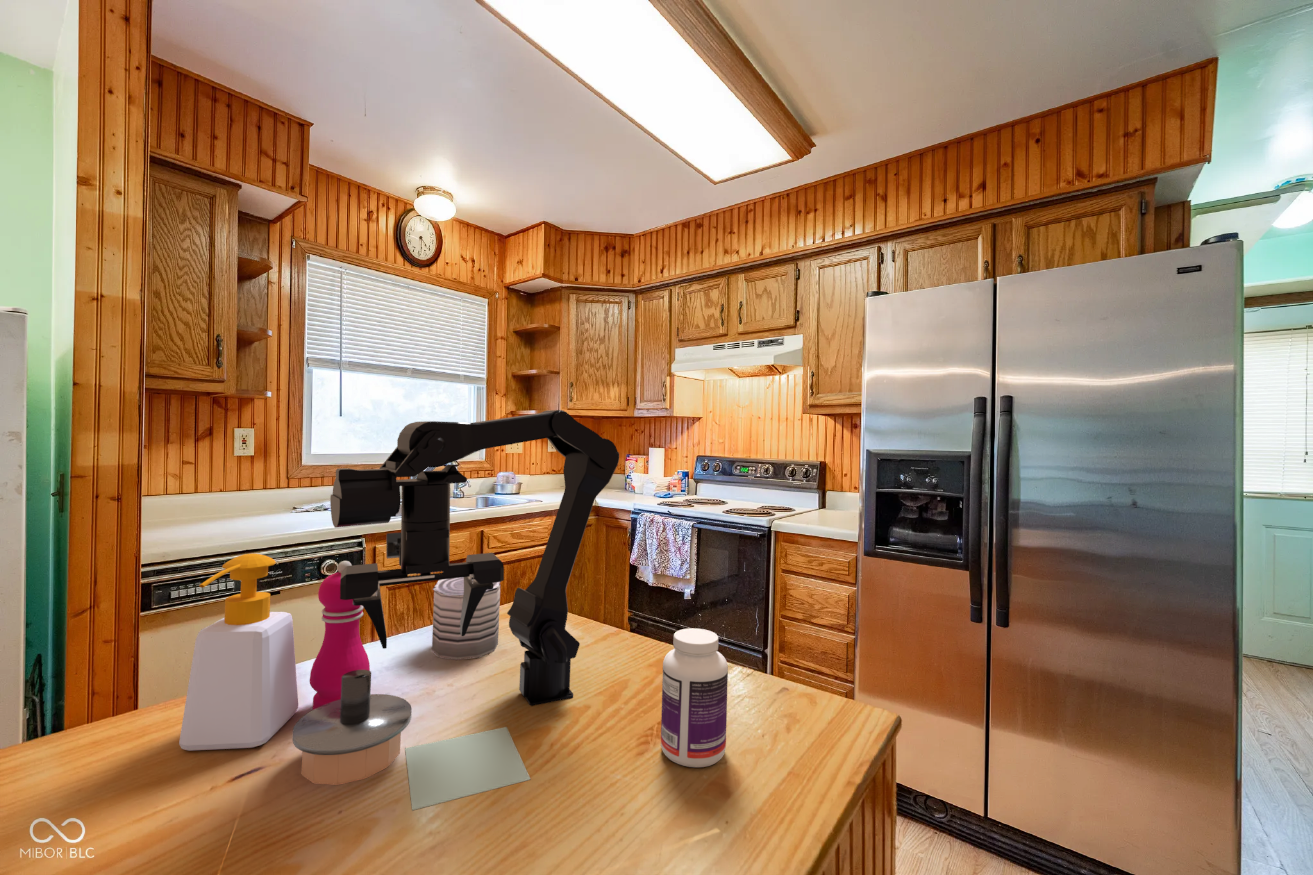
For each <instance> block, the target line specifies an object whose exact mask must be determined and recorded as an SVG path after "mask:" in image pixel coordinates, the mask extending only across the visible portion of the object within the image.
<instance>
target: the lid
mask: <svg viewBox="0 0 1313 875" xmlns="http://www.w3.org/2000/svg"><path fill="white" fill-rule="evenodd" d="M371 688H372V671H371V670H370V671H369V670H355V671H351V672H348V673H346V674H344V675H343V676H342V684H341V699H340V700H337V701H333V702H330V703H328V704H325V705H323V706H320V707H318V708H316V709H314V710H313V709H312V710H311V711H309V712H308V713H306V714H305V715H303V716H302V717H301V718H299V720H298V721H297V722H296V723H295V724H294V726H293V729H292V744H293V745H294V746H295V748H296V749H298V750H299V751H301V752H302V751H303V752H306V753H310V754H316V755H339V754H347V753H352V752H357V751H361V750H365V749H368V748H371V747H374V746H377V745H379V744H381V743H384V742H386V741H388V740H390V739H392V738H393V737H395V736H396V735H398V734H399V733H401V734H402V732H403V731H404V730H405V729H406V728H407V727H408V725H409V724H410V723H411V720H412V710H413V708H412V706H411V704H410V703H409V701H407V700H406V698H405V699H404V698H402V697H400V696H396V695H392V694H386V693H385V694H384V693H383V694H382V693H380V694H379V693H374V694H373V693H371V690H372V689H371Z"/></svg>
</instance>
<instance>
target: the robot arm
mask: <svg viewBox="0 0 1313 875" xmlns="http://www.w3.org/2000/svg"><path fill="white" fill-rule="evenodd" d="M543 439H547V440H548V441H549V443H550V444H551V445H552V447H553V449H555V451H556V452H558V453H559V454H560V455H561V456H563V457H564V463H563V464H564V465H563V477H564V478H563V479H564V491H563V495H562V498H561V500H560V503H559V506H558V509H557V513H556V516H555V519H554V522H553V524H552V527H551V530H550V534H549V536H548V540H547V542H546V545H545V547H544V551H543V554H542V558H541V560H540V563H539V566H538V569H537V572H536V575H535V577H534V579H533V581H532V582H531V583H530V584H529V585H528V587H527V588H526V589H523V588H521V587H517V588H516V589H515V592H514V596H513V597H514V598H513V602H512V604H511V606H510V608H509V609H508V611H507V613H506V614H507V616H509V621H508V627H509V629H510V631H511V633H512V635H513V636H514V637H515V638H517V639H518V641H519V644H520V647H522V648H525V649H526V650H524V656H523V657H524V658H523V659H524V660H523V661H522V662H520V666H519V667H520V668H519V691H520V693H521V695H522V696H523V697H524V698H525V700H526V702H527V703H528V705H529V706H530V707H533V706H539V705H543V704H549V703H554V702H555V703H556V702H559V701H565V700H568V699H573V698H574V692H572V690H571V689H570V688H571V687H570V686H571V663H572V661H571V660H573V659H575V658H576V657H577V655H578V651H579V648H580V642H579V640H577V639H576V638H575V637H574V636H573V635H572V634H571V633H570V632H569V631H568V630H566V624H567V619H568V613H569V608H568V597H567V587H568V583H569V581H570V577H571V575H572V571H573V568H574V565H575V562H576V558H577V555H578V552H579V550H580V546H581V543H582V540H583V537H584V534H585V531H586V527H587V524H588V522H589V518H590V515H591V512H592V510H593V506H594V503H595V499H597V496H598V495H600V493H601V492H602V491H603V490H604V489H605V488H606V486H608V484H610V481H611V479H612V477H613V475H614V473H615V471H616V469H617V467H618V466H619V461H620V452H619V451H618V449H617V446H616V445H615V444H614V442H613V441H612V440H610V439H608V438H603V437H602V436H600V435H599V434H598V433H597V432H596V431H594V430H592V429H591V428H589V427H587V426H586V425H584V424H582V423H580V422H579V421H578V420H576V419H575V418H574V417H573V416H571V415H570V414H569V413H568V412H567V411H565V410H564V409H563V410H562V409H551V410H544V411H542V412H539V413H538V412H537V413H532V414H526V415H524V414H523V415H518V416H511V417H501V418H497V419H490V420H483V421H476V422H465V421H464V422H461V421H459V422H458V421H434V420H433V421H430V420H429V421H427V420H426V421H414V422H411V423H408V424H407V425H404V427H403V429H402V430H401V431H400V432H399V434H398V437H397V439H396V440H397V443H396V444H397V446H396V447H395V449H394V450H393V451H392V452H391V454H390V455H389V456H388V457H387V458H386V460H385V461H384V462H383V463H382V464H381V466H380V467H379V468H365V469H362V468H361V469H354V468H350V467H349V468H347V467H346V468H345V467H343V468H337V469H335V480H333V481H334V482H333V487H332V494H330V498H329V499H330V516H331V522H332V525H333V527H334V528H335V529H336V528H345V527H356V526H367V525H368V526H369V525H377V524H379V525H381V524H388V523H390V521H391V519H392V518H394V517H396V516H397V514H399V512H400V509H401V514H400V515H401V518H400V519H401V520H400V523H401V525H400V526H401V527H400V528H401V529H400V530H401V531H400V532H390V533H386V543H385V544H386V546H385V547H386V550H385V551H386V558H387V559H398V565H399V567H400V568H395V569H382V570H378V569H379V568H378V562H376V563H368V564H367V563H365V564H356V565H353V564H352V566H347V567H346V568H345V569H344V570H343V571H342V573H341V579H340V599H342V600H350V599H353V605H355V606H359V605H362V606H363V607H364V608H363V610H364V611H365V612H366V613H367V615H368V617H369V618H370V620H371V623H372V624H373V626H374V629H375V631H376V634H377V637H378V639H379V641H380V645H381V647H382V649H384V650H385V649H387V646H388V644H387V641H388V636H387V629H386V628H387V627H386V621H385V616H384V615H385V614H384V609H383V602H382V600H383V599H382V594H381V587H386V586H387V587H388V586H394V585H395V586H396V585H405V584H414V583H421V582H432V581H439V580H442V579H452V578H461V577H464V594H463V603H462V612H461V620H460V634H461V636H465V634H466V631H467V629H468V627H469V624H470V622H471V619H472V617H473V614H474V612H475V610H476V608H477V606H478V604H479V602H480V601H481V599H482V597H483V595H484V593H485V592H486V590H490V589H493V587H494V584H493V583H495V582H500V583H501V582H503V581H504V580H505V566H504V562H502V561H501V559H500V558H499V557H498V556H496V555H495V553H493V552H486V553H475V554H467V555H466V559H465V561H464V562H455V563H450V551H451V550H450V547H451V546H450V540H451V536H450V535H451V532H450V531H451V528H450V527H451V526H450V525H451V524H450V522H451V484H465V483H467V482H468V478H467V477H466V476H465V475H464V474H462V473H461V472H460V471H459V470H458V469H457V467H456V466H455V465H454V464H451V463H454V462H456V461H459V460H462V459H464V458H467V457H468V456H470V455H472V454H474V453H477V452H479V451H481V450H485V449H493V448H498V447H503V446H509V445H514V444H520V443H527V442H531V441H533V442H534V441H536V440H543ZM439 467H444V468H442V469H441V470H426V469H428V468H439ZM414 477H415V478H414ZM397 478H405V479H397ZM406 478H407V479H406Z"/></svg>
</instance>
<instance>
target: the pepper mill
mask: <svg viewBox="0 0 1313 875" xmlns="http://www.w3.org/2000/svg"><path fill="white" fill-rule="evenodd" d="M347 566H353V564H352V563H351V562H350V561H349V560H343V561H342V560H341V561H339V563H338V565H337V566H336V568H337V571H338V572H335V573H332V574H330V575H328V576H327V577H325V578H324V579H323V581H322V582H321V584H320V585H319V588H318V593H317V598H318V600H319V602H320V603H321V605H322V606H323V607H324V608H323V609H322V610H321V614H322V616H321V621H322V622H324V629H325V630H324V636H323V639H322V643H321V646H320V649H319V652H318V653H317V655H316V657H315V659H314V661H313V664H312V666H311V669H310V674H309V684H310V687H311V689H313V690H314V691H315V692H316V693H314V695H313V698H312V710H314V709H316V708H318V707H320V706H323V705H325V704H328V703H330V702H333V701H337V700H340V699H341V684H342V676H343V675H344V674H346V673H348V672H351V671H355V670H369V671H371V669H370V668H371V667H370V666H371V664H370V660H369V656H368V653H367V651H366V650H365V647H364V645H363V642H362V639H361V636H360V619H361V618H362V617H363V616H364V612H363V610H364V607H363V606H362V605H359V606H355V605H353V599H350V600H342V599H340V579H341V573H342V571H343V570H344V569H345V568H346V567H347Z"/></svg>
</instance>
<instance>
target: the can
mask: <svg viewBox="0 0 1313 875" xmlns="http://www.w3.org/2000/svg"><path fill="white" fill-rule="evenodd" d="M493 584H494V587H493V589H490V590H486V592H485V593H484V595H483V597H482V599H481V601H480V602H479V604H478V606H477V608H476V610H475V612H474V614H473V617H472V619H471V622H470V624H469V627H468V629H467V631H466V634H465V636H461V634H460V620H461V612H462V603H463V594H464V577H461V578H452V579H442V580H437V582H436V583H435V585H434V587H433V588H432V590H433V610H432V611H433V614H432V618H433V619H432V634H431V635H432V636H431V637H432V638H431V643H432V644H431V652H433V654H434V655H436V656H437V658H441V659H447V660H453V661H461V660H469V659H470V660H471V659H477V658H481V657H483V656H486V655H489V654H491V653H493V652H495V651H496V649H497V647H498V645H499V630H500V629H499V628H500V627H499V626H500V602H501V582H495V583H493Z"/></svg>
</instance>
